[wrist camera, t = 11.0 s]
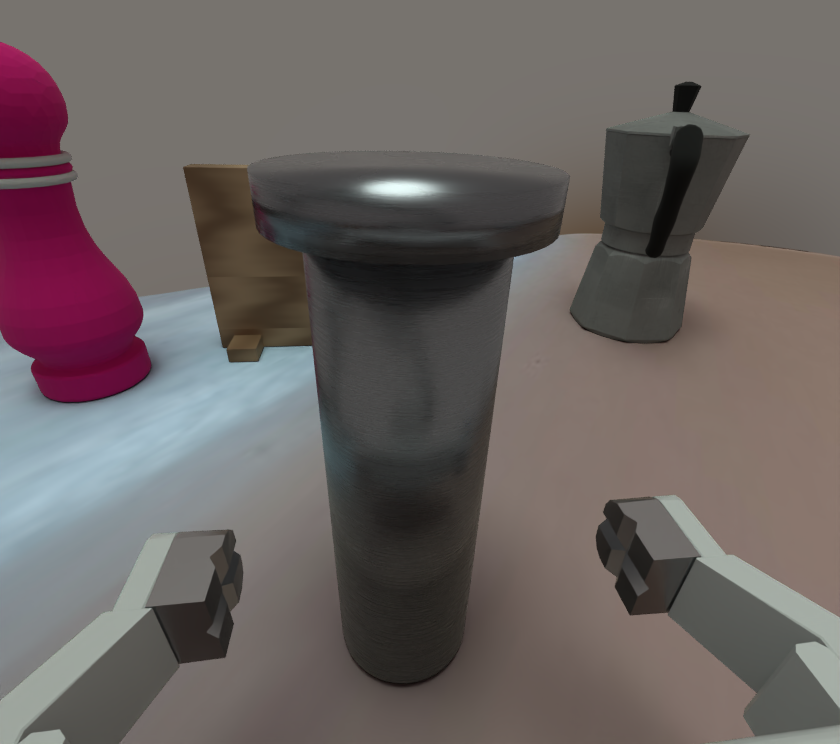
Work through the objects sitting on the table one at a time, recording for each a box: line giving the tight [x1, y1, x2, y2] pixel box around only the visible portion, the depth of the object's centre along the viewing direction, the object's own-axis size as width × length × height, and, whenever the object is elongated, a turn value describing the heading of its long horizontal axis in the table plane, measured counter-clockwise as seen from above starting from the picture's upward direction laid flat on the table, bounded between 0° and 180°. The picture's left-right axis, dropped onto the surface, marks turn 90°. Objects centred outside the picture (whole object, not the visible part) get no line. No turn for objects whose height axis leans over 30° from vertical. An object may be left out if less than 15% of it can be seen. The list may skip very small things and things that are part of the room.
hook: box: [247, 151, 570, 683], centre depth 19 cm, size 6×20×15 cm, turn 6°
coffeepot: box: [570, 82, 749, 343], centre depth 35 cm, size 15×9×18 cm, turn 160°
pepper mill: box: [0, 42, 151, 402], centre depth 25 cm, size 7×7×20 cm
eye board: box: [183, 164, 312, 362], centre depth 33 cm, size 16×6×12 cm, turn 96°
